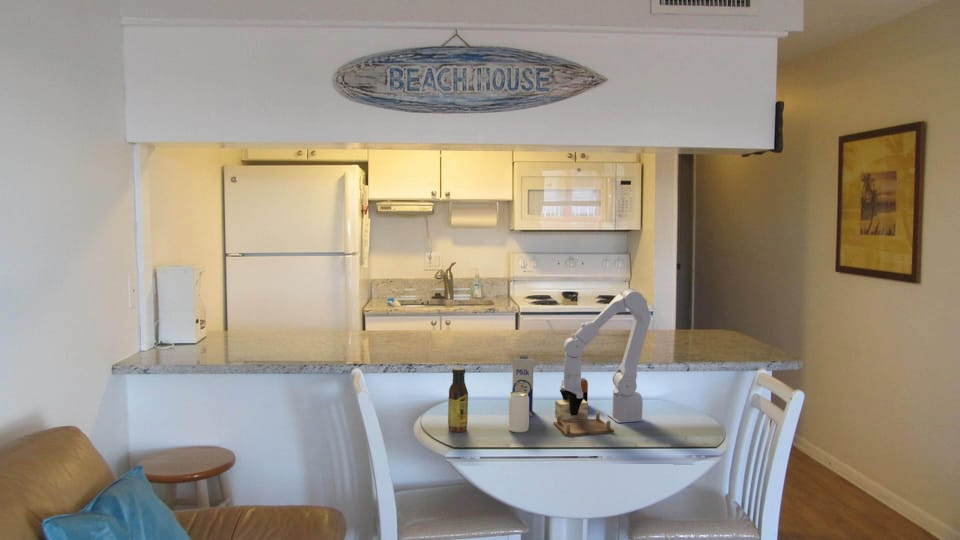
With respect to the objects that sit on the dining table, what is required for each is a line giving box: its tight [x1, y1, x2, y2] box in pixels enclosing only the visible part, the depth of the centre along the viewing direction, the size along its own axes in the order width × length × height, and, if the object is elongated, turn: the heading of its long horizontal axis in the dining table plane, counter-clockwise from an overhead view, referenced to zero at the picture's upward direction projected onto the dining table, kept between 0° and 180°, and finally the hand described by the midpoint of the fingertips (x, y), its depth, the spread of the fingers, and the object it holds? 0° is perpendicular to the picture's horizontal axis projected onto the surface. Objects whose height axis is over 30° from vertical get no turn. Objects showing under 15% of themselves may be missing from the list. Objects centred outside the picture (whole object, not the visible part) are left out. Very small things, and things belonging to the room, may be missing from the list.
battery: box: [581, 377, 589, 402], centre depth 223 cm, size 4×7×10 cm, turn 84°
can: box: [507, 391, 530, 434], centre depth 198 cm, size 6×6×12 cm
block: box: [554, 399, 589, 421], centre depth 210 cm, size 10×4×6 cm, turn 103°
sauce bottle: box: [447, 366, 469, 433], centre depth 197 cm, size 6×6×20 cm
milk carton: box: [511, 355, 535, 418], centre depth 213 cm, size 7×7×20 cm
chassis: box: [552, 411, 615, 437], centre depth 200 cm, size 16×11×3 cm
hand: (571, 412), depth 210 cm, fingers closed on block, 4 cm apart
